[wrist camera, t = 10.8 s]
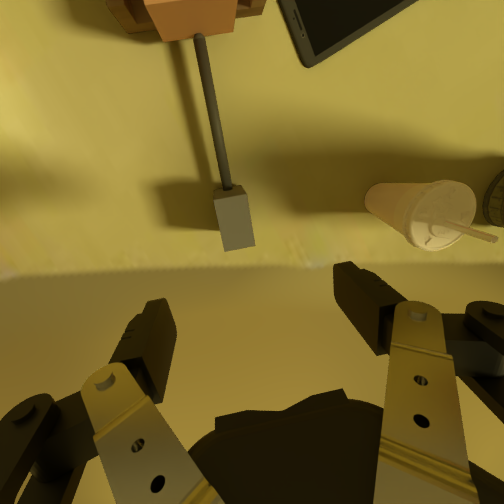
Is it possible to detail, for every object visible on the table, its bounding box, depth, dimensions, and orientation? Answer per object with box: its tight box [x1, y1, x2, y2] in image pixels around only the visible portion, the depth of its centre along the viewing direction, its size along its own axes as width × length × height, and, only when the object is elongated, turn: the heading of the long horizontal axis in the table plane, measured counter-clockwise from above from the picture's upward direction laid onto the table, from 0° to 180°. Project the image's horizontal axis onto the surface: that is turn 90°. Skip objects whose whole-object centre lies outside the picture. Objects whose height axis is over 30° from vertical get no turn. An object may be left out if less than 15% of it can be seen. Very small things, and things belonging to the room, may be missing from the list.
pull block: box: [144, 0, 255, 252], centre depth 21 cm, size 25×6×7 cm, turn 9°
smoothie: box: [364, 180, 498, 251], centre depth 25 cm, size 6×6×14 cm
